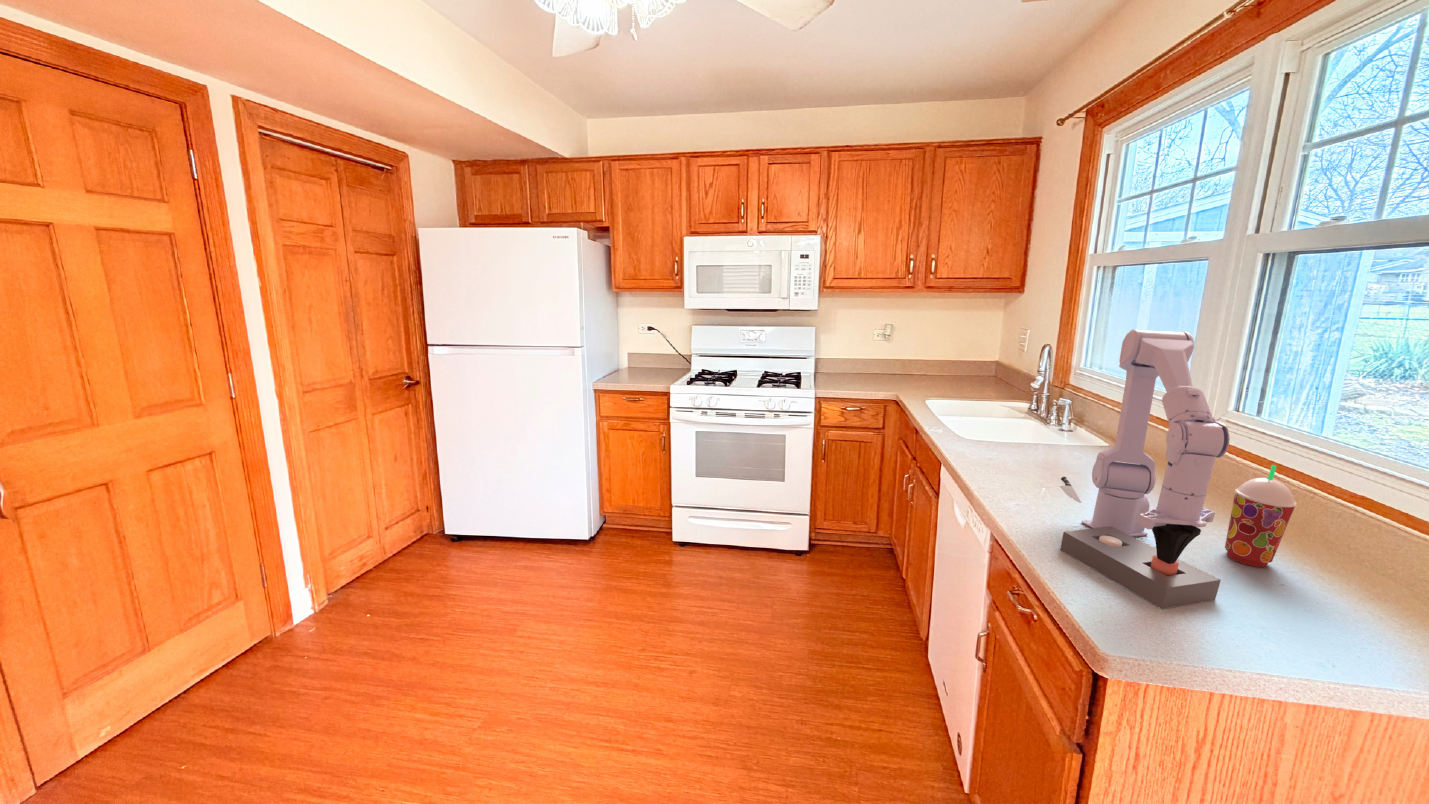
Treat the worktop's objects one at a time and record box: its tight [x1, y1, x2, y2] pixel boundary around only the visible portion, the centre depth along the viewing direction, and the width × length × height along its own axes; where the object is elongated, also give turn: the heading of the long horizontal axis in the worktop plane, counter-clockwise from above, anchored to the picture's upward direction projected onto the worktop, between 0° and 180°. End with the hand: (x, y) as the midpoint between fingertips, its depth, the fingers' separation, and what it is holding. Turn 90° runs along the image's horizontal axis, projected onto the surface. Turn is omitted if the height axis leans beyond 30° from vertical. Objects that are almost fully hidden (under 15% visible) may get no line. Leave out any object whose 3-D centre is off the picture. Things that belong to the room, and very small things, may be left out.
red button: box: [1150, 555, 1179, 576], centre depth 94 cm, size 4×4×3 cm
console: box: [1060, 526, 1222, 610], centre depth 99 cm, size 12×20×4 cm, turn 14°
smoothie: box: [1224, 464, 1298, 568], centre depth 103 cm, size 8×8×20 cm
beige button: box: [1099, 535, 1122, 547], centre depth 104 cm, size 4×4×3 cm
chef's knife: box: [1059, 476, 1082, 504], centre depth 138 cm, size 19×1×3 cm
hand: (1165, 560), depth 94 cm, fingers closed, pressing on red button
